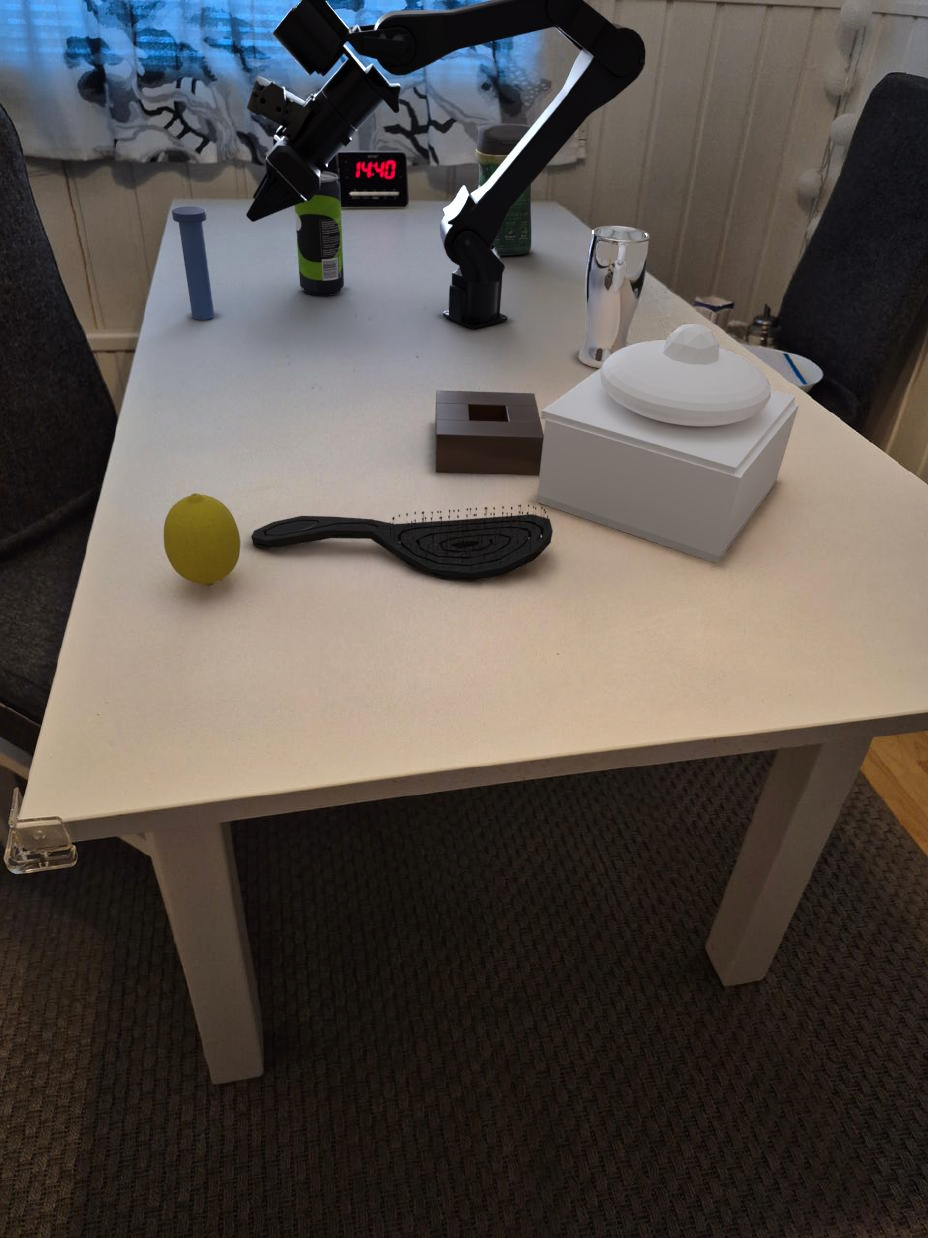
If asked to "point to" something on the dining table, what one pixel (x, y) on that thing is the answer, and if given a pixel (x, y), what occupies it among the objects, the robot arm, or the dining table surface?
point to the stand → (487, 432)
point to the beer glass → (612, 289)
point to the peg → (195, 260)
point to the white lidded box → (668, 443)
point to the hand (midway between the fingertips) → (252, 208)
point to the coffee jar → (490, 155)
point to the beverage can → (321, 239)
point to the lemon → (201, 539)
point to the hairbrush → (429, 541)
